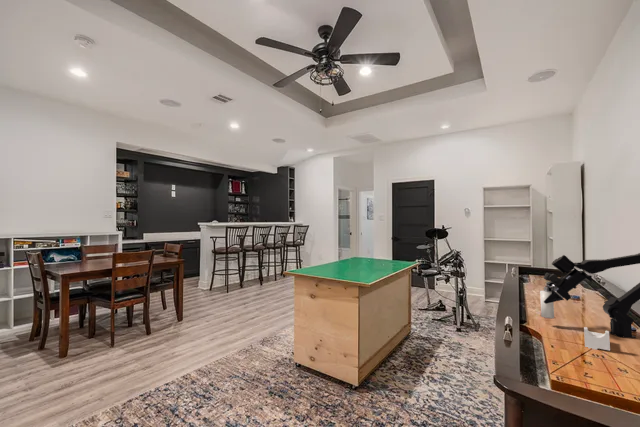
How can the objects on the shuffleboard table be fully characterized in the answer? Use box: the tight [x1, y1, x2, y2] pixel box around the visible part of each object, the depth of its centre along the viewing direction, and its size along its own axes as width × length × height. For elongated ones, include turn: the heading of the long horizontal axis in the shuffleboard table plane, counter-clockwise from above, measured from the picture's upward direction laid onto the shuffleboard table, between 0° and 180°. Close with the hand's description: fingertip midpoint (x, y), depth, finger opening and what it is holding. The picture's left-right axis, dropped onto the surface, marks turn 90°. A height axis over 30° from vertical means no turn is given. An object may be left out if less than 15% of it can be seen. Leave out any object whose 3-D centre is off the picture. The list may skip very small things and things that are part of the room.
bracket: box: [583, 326, 611, 351], centre depth 118 cm, size 13×7×8 cm, turn 137°
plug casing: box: [539, 286, 555, 319], centre depth 141 cm, size 5×5×14 cm
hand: (543, 301), depth 142 cm, fingers closed on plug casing, 5 cm apart
